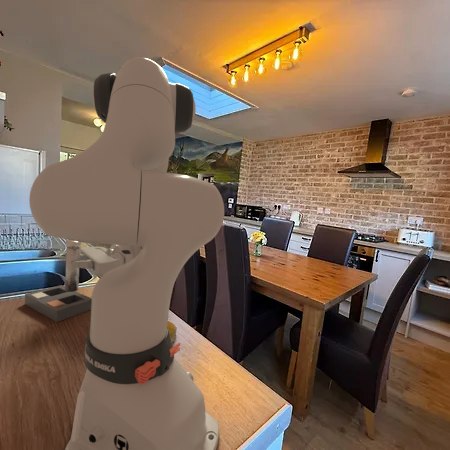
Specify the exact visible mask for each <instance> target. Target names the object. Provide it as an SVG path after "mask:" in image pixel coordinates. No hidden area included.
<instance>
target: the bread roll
mask: <svg viewBox="0 0 450 450" xmlns="http://www.w3.org/2000/svg"><path fill="white" fill-rule="evenodd" d="M167 328H168V330H169V334H170V338H171V342H172V343H173V342H175V340H176V338H177V337H176V336H177V326H176V325H175V324H174V323H173V322H171V321H169V320H168V322H167Z"/></svg>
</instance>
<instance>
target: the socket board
mask: <svg viewBox="0 0 450 450" xmlns="http://www.w3.org/2000/svg"><path fill="white" fill-rule="evenodd" d="M91 302H92V297H89V296H87V295H85V294H82V293H81V292H78V291H74V292H67V291H65V285H62V284H60V285H56V286H52V287H48V288H44V289H41V290H35V291H32V292H28V293H24V305H26V306H28V307H29V308H31V309H33V310H35V311H36V312H38V313H40V314H42V315H43V316H45V317H46V318H48V319H50V320H52V321H53V322H55V323H58V322H61V321H63V320H67V319H69V318H71V317H74V316H77V315H80V314H83V313H85V312H89V311H91ZM88 310H89V311H88Z"/></svg>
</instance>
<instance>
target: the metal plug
mask: <svg viewBox="0 0 450 450" xmlns="http://www.w3.org/2000/svg"><path fill="white" fill-rule="evenodd" d="M80 248H82V242H77V241H72V240H67V239H66V240H65V249H66V250H65V251H66V252H65V285H64V286H65V291H67V292H74V291H76V292H78V291H79V283H80V282H79V281H80V279H79V278H80V268H72V267H71V261H75V260H78V261H79V260H80Z"/></svg>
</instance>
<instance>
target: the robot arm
mask: <svg viewBox="0 0 450 450" xmlns="http://www.w3.org/2000/svg"><path fill="white" fill-rule="evenodd" d="M91 98H92V104H93V107H94V110H95V112H96V115H97V116H98V118H99V119H100V120H101V121H102V122H103V123H105V125H104V129H103V131H102V133H101V134H100V136H99V137H98V138H97V139H96V141H94V143H92V145H90V146H89V147H87V148H86V149H85V150H83V151H81V152H80V153H78V154H77V155H74V156H72V157H70V158H67V159H65V160H62V161H58V162H54V163H51V164H49V165H48V166H46V167H45V168H44V169H43V170H41V172H39V174H38V175H37V176H36V178H35V179H34V181H33V182H32V186H31V188H30V192H29V209H30V211H31V215H32V217H33V219H34V221H35V222H36V225H37V226H38V227H39V228H40V229H41V231H42V232H44V234H46V235H47V236H50V237H54V238H58V239H63V240H66V241H67V240H72V241H77V242H81V243H82V244H99V245H100V244H103V245H104V244H105V245H111V246H110V247H109V248H106V247H105V246H81V247H80V260H79V261H78V260H75V261H71V267H72V268H79V269H89V270H91V271H93V273H94V274H95V275H97V276H98V277H100V278H98V280H97V282H95V285H94V287H93V289H92V292H91V298H92V302H91V310H90V324H89V326H90V328H89V332H88V334H87V337H86V340H85V341H86V342H85V345H84V355H85V356H84V364H85V367H86V371H85V373H84V377H83V379H82V382H81V386H80V388H79V391H78V394H77V398H76V404H75V411H74V417H73V424H72V430H71V436H70V440H69V441H68V443H67V444H66V447H65V449H64V450H217V449H218V448H217V447H218V445H219V437H220V431H219V430H220V429H219V428H220V425H219V422H218V421H217V420H216V419H215V418H214V417H213V416H212V415H211V414H209V412H207V411H206V402H205V398H204V395H203V394H204V393H203V392H202V390H201V389H200V388H199V387H198V385H196V383H195V382H194V376H193V374H192V372H190V371H188V370H185V369H184V367H183V365H181V364H180V363H179V361H178V360H177V358H176V357H175V354H177V353H178V352H179V351H180V348H179V347H180V345H181V343H180V342H179V343H177V344H175V345H173V342H171V338H170V334H169V330H168V328H167V322H168V321H169V320H168V319H169V312H170V305H171V301H172V300H171V298H172V294H173V290H174V289H173V288H174V287H175V286H174V285H175V282H176V280H177V278H178V277H179V274H180V272H181V271H182V269H183V267H184V266H185V265H186V263H187V262H188V261H189V259H190V258H191V257H192V256H193V255H194V254H195V253H196V252H197V251H199V249H201V248H202V247H204V246H205V245H207V244H208V243H209V242H212V240H213V239H214V238H215V237H216V236H217V234H218V233H219V231H220V229H221V228H222V226H223V224H224V223H223V222H224V218H225V204H224V200H223V197H222V195H221V193H220V191H219V189H218V188H217V187H216V185H215V184H213V183H211V182H208V181H206V180H203V179H200V178H197V177H194V176H190V175H188V174H182V173H175V172H174V173H173V172H168V169H169V162H170V161H169V159H170V158H171V156H172V154H173V153H174V150H175V146H176V135H177V134H179V133H184V132H187V131H188V130H189V129H190V128H191V127H192V124H193V123H194V120H195V116H196V112H197V110H196V102H195V98H194V94H193V92H192V90H191V89H190V88H189V87H188V86H186V85H184V84H181V83H178V82H176V83H172V82H169V78H168V76H167V74H166V73H165V71H164V69H163V68H162V67H161V66H160V65H159V64H158V63H156V62H155V61H153V60H151V59H149V58H146V57H139V56H138V57H134V58H130V59H128V60H126V61H125V62H124V63H123V64H122V65H121V67H120V68H119V71H118V73H117V74H116V73H115V72H109V73H108V72H107V73H102V74H99V76H97V77H96V78H95V79H94V82H93V87H92V91H91Z"/></svg>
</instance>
